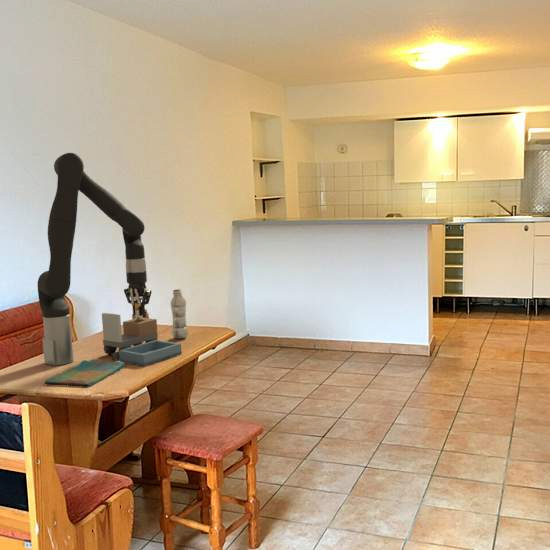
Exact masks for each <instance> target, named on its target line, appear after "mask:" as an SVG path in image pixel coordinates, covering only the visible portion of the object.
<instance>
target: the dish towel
mask: <svg viewBox="0 0 550 550" xmlns="http://www.w3.org/2000/svg"><path fill="white" fill-rule="evenodd" d="M125 366H126V363H124V362H122V361H120V360H118V361H101V362H99V361H89V360H86V359H85V360H81V362H80V363H79V364H77V365H76V366H73V367H70V368H68V369H66V370H63V371H62V372H60V373H58V374H55V375H54V376H52V377H49V378H47V379H45V380H44V383H43V384H44V385H45V384H47V385H46V386H54V385H66V386H65V387H74V386H82V387H81V388H91V387H92V386H95V385H96V384H99V383H100V382H101V381H103V380H105V379H107V378H108V376H109V377H110V376H112V375H114V374H116V373H118V372H119V371H121V370H122V369H124V368H125ZM120 369H121V370H120ZM117 371H118V372H117ZM115 372H116V373H115ZM67 385H68V386H67Z"/></svg>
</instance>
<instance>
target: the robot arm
mask: <svg viewBox="0 0 550 550" xmlns="http://www.w3.org/2000/svg"><path fill="white" fill-rule="evenodd" d="M53 164H54V165H53V169H54V172H55V174H56V176H57V183H56V184H57V186H56V192H55V196H54V199H53V201H52V205H51V208H50V212H49V217H48V224H47V241H48V247H49V255H50V256H49V257H50V258H49V259H50V261H49V264H48V265H49V266H48V270H46V271H44V272H42V273H41V274H40V275H39V277H38V279H37V294H38V301H39V302H38V303H39V307H40V310H41V314H42V322H43V334H44V335H43V336H44V337H42V348H43V349H42V350H43V359H44V360H43V361H44V364H45V365H50V366H53V367H54V366H60V365H67V364H69V363H70V364H71V363H72V362H74V360H75V359H74V349H73V347H74V346H73V334H72V326H71V325H72V324H71V314H70V312H71V310H70V306H69V305H68V304H67V302H66V301H67V300H66V298H65V296H66V295H67V293H68V292H69V290H70V288H71V279H72V278H71V275H72V274H71V273H72V272H71V267H72V266H71V265H72V254H73V248H74V240H75V233H76V227H77V224H76V223H77V214H78V201H79V199H78V198H79V197H78V196H79V192H80V193H81V194H83V195H84V196H85V197H86V198H88V200H90V201H91V202H92V203H93V204H94V206H96V207H98V209H100V211H101V212H103V213H104V214H105V215H106V216H107V217H108V218H109V219H110V220H112V221H113V222H115V223H116V224H117V225H119V227H121V229H122V231H121V232H122V237H123V240H124V241H123V242H124V247H125V249H124V250H125V253H124V254H125V273H126V283H127V284H128V287H127V288H124V289H123V292H124V295H125V298H126V300H127V303H128V304H131V306H132V315H133V314H134V315H136V313H135V303H136V302H138V304H139V316H143V315H145V309H146V308H145V307H146V305H148V304H150V303H149V302H150V300H151V295H152V292H153V291H152V290H151V289H148V288H147V285H146V283H147V282H148V275H147V263H146V256H145V246H144V244H143V242H142V235H143V234H144V232H145V224H144V222H143V220H141V218H139V216H137V215H136V214H135V213H133V212H132V211H131V210H129V209H128V208H127V207H126V206H125V205H124V203H122V202H121V201H120V200H119V199H118V198H117V197H116V196H114V194H112V193H111V192H110V191H108V190H106V188H104V187H103V186H102V185H100V184H99V183H97V182H96V181H94V180H93V178H91V176H89V175H88V174H87V173H86V172H85V171H84V168H85V167H84V162H83V159H82V158H81V156H79V155H78V154H77V153H74V152H66V153H64V154H61V155H59V157H57V158H56V159H55V161H54V162H53Z"/></svg>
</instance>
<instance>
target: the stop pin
mask: <svg viewBox="0 0 550 550" xmlns="http://www.w3.org/2000/svg"><path fill="white" fill-rule="evenodd" d="M135 313H136V322H141V321H143V316H139V304H138V302H136V303H135Z"/></svg>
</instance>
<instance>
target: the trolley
mask: <svg viewBox="0 0 550 550" xmlns="http://www.w3.org/2000/svg"><path fill="white" fill-rule="evenodd" d="M101 321H102V322H101V323H102V335H103V336H102V337H103V339H102V344H103V351H104V353H105V354H107V355H112V360H113V359H114V361H120V357H119V351H120V350H123V349H127V348H130V347H134V346H137V345H141V344H143V342H145V343H147V342H151V341H154V340H158V337H159V335H158V323H157V321H158V320H157V319H156V318H150V317H149V318H143V321H141V322H136V319H128V320H125V321H122V323H121V314H117V313H110V312H109V313H108V312H102V313H101ZM122 329H123V333H122ZM117 348H118V351H117Z"/></svg>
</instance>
